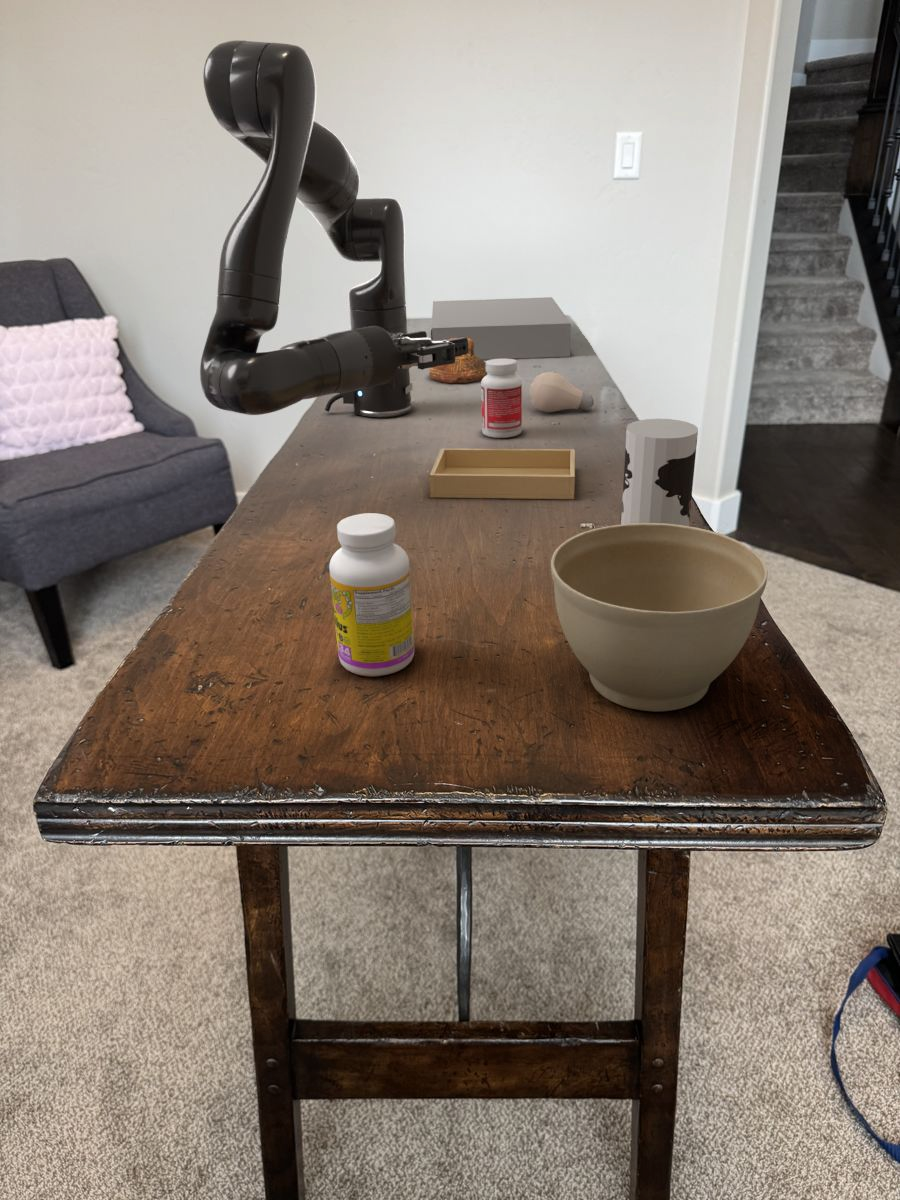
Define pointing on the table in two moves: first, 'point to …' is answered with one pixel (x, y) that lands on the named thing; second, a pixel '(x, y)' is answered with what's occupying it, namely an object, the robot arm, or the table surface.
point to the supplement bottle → (371, 597)
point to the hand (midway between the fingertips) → (445, 341)
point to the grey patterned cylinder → (659, 471)
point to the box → (505, 327)
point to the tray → (504, 473)
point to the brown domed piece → (461, 368)
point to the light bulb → (557, 394)
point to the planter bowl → (656, 609)
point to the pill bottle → (501, 399)
